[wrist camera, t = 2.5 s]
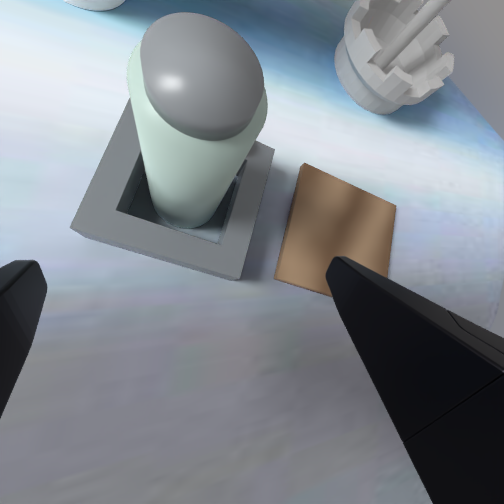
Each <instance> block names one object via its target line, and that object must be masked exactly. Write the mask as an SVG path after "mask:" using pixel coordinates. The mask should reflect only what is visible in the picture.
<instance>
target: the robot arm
mask: <svg viewBox="0 0 504 504" xmlns="http://www.w3.org/2000/svg"><path fill="white" fill-rule="evenodd" d="M325 277H326V281H327V284H328V286H329V289H330V291H331V294H332V297H333V299H334V302H335V305H336V307H337V310H338V312H339V315H340V317H341V319H342V321H343V323H344V325H345V327H346V329H347V331H348V333H349V335H350V337H351V339H352V341H353V343H354V345H355V347H356V349H357V351H358V353H359V355H360V357H361V359H362V361H363V363H364V365H365V367H366V369H367V371H368V373H369V375H370V377H371V379H372V381H373V383H374V385H375V387H376V389H377V391H378V394H379V396H380V398H381V400H382V402H383V404H384V406H385V408H386V410H387V412H388V414H389V416H390V418H391V420H392V422H393V424H394V426H395V428H396V430H397V432H398V434H399V436H400V438H401V440H402V441H403V444H404V446H405V448H406V450H407V452H408V454H409V456H410V458H411V460H412V462H413V464H414V467H415V469H416V471H417V473H418V475H419V477H420V479H421V481H422V483H423V485H424V487H425V489H426V491H427V493H428V495H429V497H430V499H431V501H432V503H433V504H504V338H502V337H500V336H498V335H496V334H494V333H492V332H490V331H488V330H486V329H484V328H482V327H480V326H478V325H476V324H474V323H472V322H470V321H468V320H466V319H464V318H462V317H460V316H458V315H457V314H455V313H453V312H451V311H449V310H446V309H445V308H443V307H441V306H439V305H437V304H435V303H434V302H432V301H430V300H428V299H426V298H424V297H422V296H420V295H418V294H416V293H415V292H413V291H411V290H409V289H407V288H405V287H403V286H401V285H399V284H397V283H396V282H394V281H392V280H390V279H388V278H386V277H384V276H382V275H380V274H378V273H376V272H375V271H373V270H371V269H369V268H367V267H365V266H363V265H361V264H359V263H357V262H356V261H354V260H352V259H350V258H348V257H346V256H335V257H333V259H332V260H331V262H330V265H329V267H328V269H327V271H326V274H325ZM46 293H47V283H46V280H45V278H44V275H43V273H42V270H41V268H40V265H39V263H38V262H37V261H35V260H15V261H13V262H11V263H9V264H7V265H5V266H3V267H1V268H0V418H1V416H2V413H3V411H4V409H5V406H6V404H7V402H8V399H9V397H10V395H11V393H12V390H13V388H14V386H15V383H16V381H17V379H18V376H19V374H20V372H21V369H22V367H23V365H24V362H25V360H26V358H27V355H28V353H29V350H30V348H31V345H32V342H33V339H34V336H35V332H36V329H37V325H38V322H39V318H40V315H41V311H42V308H43V304H44V301H45V297H46Z"/></svg>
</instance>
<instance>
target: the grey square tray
mask: <svg viewBox="0 0 504 504" xmlns="http://www.w3.org/2000/svg"><path fill="white" fill-rule="evenodd" d="M274 151H275V149H273V148H271V147H268V146H266V145H264V144H262V143H260V142H258V141H256V140H255V142H254V144H253V145H252V147H251V149H250V151H249V153H248V154H247V156H246V158H245V160H244V161H243V163H242V165H241V167H240V168H239V170H238V172H237V174H236V175H237V176H238V178H237V181H236V184H235V188H234V191H233V194H232V198H231V201H230V204H229V207H228V211H227V214H226V217H225V221H224V224H223V227H222V230H221V234H220V237H219V240H218V243H217V244H216V243H213V242H210V241H207V240H204V239H201V238H198V237H195V236H192V235H189V234H186V233H183V232H180V231H177V230H174V229H171V228H168V227H165V226H161V225H158V224H155V223H152V222H149V221H146V220H143V219H140V218H137V217H134V216H131V215H128V214H127V212H128V210H129V208H130V205H131V203H132V200H133V198H134V195H135V193H136V191H137V188H138V186H139V183H140V181H141V178H142V176H143V173H144V171H145V166H144V161H143V156H142V152H141V147H140V142H139V137H138V132H137V128H136V123H135V118H134V113H133V109H132V104H131V99H130V98H129V101H128V103H127V105H126V107H125V109H124V111H123V114H122V116H121V118H120V120H119V122H118V124H117V126H116V129H115V131H114V133H113V135H112V137H111V139H110V142H109V144H108V146H107V148H106V150H105V152H104V155H103V157H102V159H101V161H100V163H99V165H98V167H97V170H96V172H95V174H94V176H93V178H92V180H91V183H90V185H89V187H88V189H87V191H86V193H85V195H84V198H83V200H82V202H81V204H80V206H79V208H78V211H77V213H76V215H75V217H74V219H73V221H72V224H71V226H70V228H71V229H73V230H74V231H76V232H77V233H79V234H81V235H82V236H84V237H86V238H89V239H92V240H96V241H99V242H102V243H106V244H109V245H113V246H116V247H119V248H123V249H126V250H129V251H133V252H136V253H140V254H143V255H146V256H150V257H153V258H156V259H160V260H163V261H166V262H170V263H173V264H177V265H180V266H183V267H187V268H190V269H193V270H197V271H200V272H204V273H207V274H210V275H214V276H217V277H220V278H224V279H227V280H236V279H240V276H241V272H242V269H243V265H244V261H245V258H246V254H247V250H248V247H249V243H250V239H251V236H252V232H253V228H254V225H255V221H256V217H257V214H258V210H259V206H260V203H261V199H262V195H263V192H264V188H265V184H266V181H267V177H268V173H269V170H270V166H271V162H272V159H273V155H274Z"/></svg>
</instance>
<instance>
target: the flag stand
mask: <svg viewBox="0 0 504 504" xmlns="http://www.w3.org/2000/svg"><path fill="white" fill-rule="evenodd" d="M423 1H424V0H356V1H355V2H354V4H353V6H352V7H351V9H350V10H349V12H348V14H347V16H346V19H345V25H344V36H343V38H342V39H341V41H340V42H339V44H338V45H337V48H336V50H335V57H334V61H335V69H336V73H337V76H338V78H339V80H340V83H341V85H342V86H343V88H344V90H345V91H346V92H347V94H348V95H349V96H350V97H351V98H352V99H353V100H354V101H355V102H356V103H357V104H358V105H359V106H361V107H362V108H364V109H365V110H367V111H369V112H372V113H375V114H380V115H386V114H391V113H393V112H395V111H396V110H398V109H399V108H400V107H401V106H403V105H413V104H418V103H419V102H421V101H423V100H424V99H426V98H427V97H428V96H430V95H431V94H432V93H434V92H435V91H436V90H438V89H439V88H440V87H442V86H443V85H444V83H443V82H442V80H443V79H444V78H446V77H447V76H448V75H450V74H451V73H452V71H453V66H454V55H453V54H451V53H449V52H447V53H445V54H444V55H443V56H442V53H441V50H440V46H439V45H440V44H441V43H442V42H443V41H444V40H445V39H446V38H447V37H448V36H449V33H448V31H447V29H446V26H445V24H444V23H443V21H442V19H441V17H440V16H438V17H436V15H438V13H439V12H440V11H441V10H442V9H443V8H444V7H445V6H446V5H447V4H448V3H449V2H450V1H451V0H429V1H428V2H427V3H426V4H425V6H424V7H423V8H422V9H421V10H420V11H419V12H418V11H417V9H418V8H419V7H420V6H421V4H422V3H423ZM435 17H436V18H435ZM433 19H434V20H433ZM432 20H433V21H432ZM431 21H432V22H431ZM430 22H431V23H430ZM429 23H430V24H429Z"/></svg>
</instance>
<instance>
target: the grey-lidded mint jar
mask: <svg viewBox="0 0 504 504" xmlns="http://www.w3.org/2000/svg"><path fill="white" fill-rule="evenodd" d="M127 83H128V89H129V94H130V99H131V104H132V109H133V113H134V118H135V123H136V128H137V132H138V137H139V142H140V147H141V152H142V156H143V161H144V166H145V171H146V175H147V180H148V185H149V190H150V194H151V199H152V203H153V206H154V208H155V210H156V212H157V213H158V215H159V216H160V217H161V218H162V219H163V220H164V221H166V222H167V223H169V224H171V225H173V226H176V227H179V228H195V227H198V226H201V225H203V224H205V223H206V222H207V221H208V220H210V219H211V217H212V216H213V215H214V213H215V211H216V209H217V207H218V206H219V204H220V202H221V200H222V199H223V197H224V195H225V193H226V192H227V190H228V188H229V186H230V184H231V183H232V181H233V179H234V177H235V176H236V174H237V172H238V170H239V168H240V167H241V165H242V163H243V161H244V160H245V158H246V156H247V154H248V153H249V151H250V149H251V147H252V145H253V144H254V142H255V140H256V138H257V137H258V135H259V133H260V131H261V130H262V128H263V126H264V123H265V120H266V116H267V107H268V104H267V95H266V90H265V87H264V77H263V72H262V69H261V66H260V63H259V61H258V59H257V57H256V55H255V53H254V51H253V50H252V49H251V47H250V46H249V44H248V43H247V42H246V41H245V40H244V39H243V38H242V37H241V36H240V35H239V34H238V33H237V32H235V31H234V30H233V29H232V28H230V27H229V26H227V25H225V24H224V23H222V22H220V21H218V20H216V19H214V18H211V17H209V16H205V15H202V14H197V13H189V12H181V13H173V14H169V15H166V16H163V17H162V18H160V19H158V20H156V21H155V22H154V23H153V24H151V26H150V27H149V28H148V29H147V31H146V32H145V34H144V36H143V39H142V40H141V41H140V42H139V43H138V44H137V45H136V47H135V48H134V50H133V52H132V53H131V56H130V58H129V61H128V66H127Z"/></svg>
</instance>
